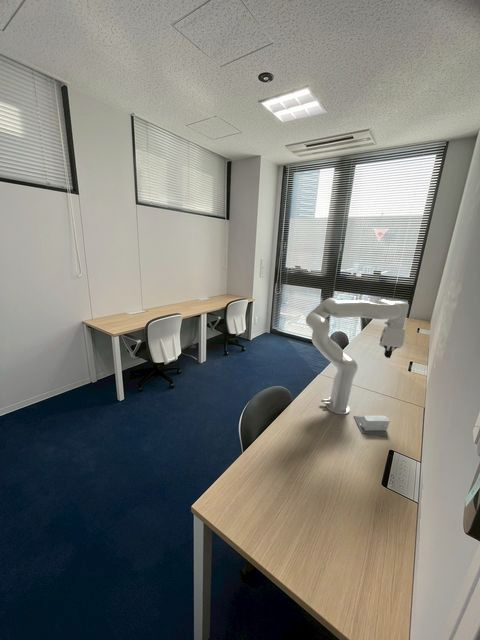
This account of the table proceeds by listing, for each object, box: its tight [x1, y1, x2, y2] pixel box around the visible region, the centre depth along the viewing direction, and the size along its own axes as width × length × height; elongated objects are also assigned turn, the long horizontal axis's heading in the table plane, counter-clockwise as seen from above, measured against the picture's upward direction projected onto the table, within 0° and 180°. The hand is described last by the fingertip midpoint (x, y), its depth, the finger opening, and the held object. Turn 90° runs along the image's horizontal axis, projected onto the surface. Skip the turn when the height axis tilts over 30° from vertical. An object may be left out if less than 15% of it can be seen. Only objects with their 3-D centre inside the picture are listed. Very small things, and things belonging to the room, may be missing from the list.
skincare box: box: [361, 415, 391, 431], centre depth 132 cm, size 6×4×12 cm
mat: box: [353, 415, 388, 438], centre depth 134 cm, size 12×13×1 cm
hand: (387, 356), depth 141 cm, fingers closed
